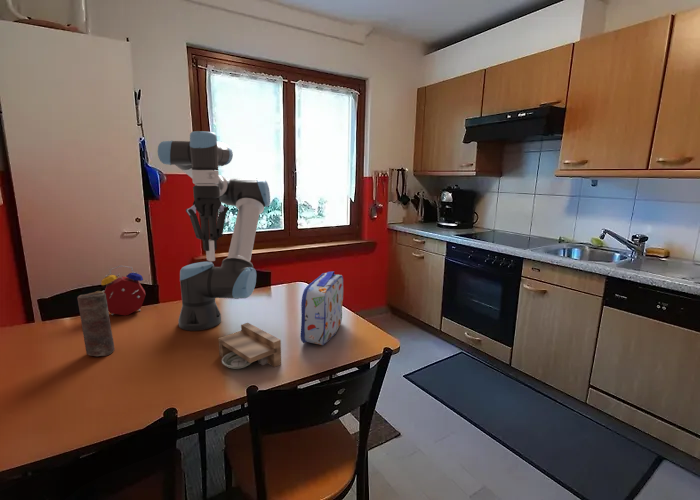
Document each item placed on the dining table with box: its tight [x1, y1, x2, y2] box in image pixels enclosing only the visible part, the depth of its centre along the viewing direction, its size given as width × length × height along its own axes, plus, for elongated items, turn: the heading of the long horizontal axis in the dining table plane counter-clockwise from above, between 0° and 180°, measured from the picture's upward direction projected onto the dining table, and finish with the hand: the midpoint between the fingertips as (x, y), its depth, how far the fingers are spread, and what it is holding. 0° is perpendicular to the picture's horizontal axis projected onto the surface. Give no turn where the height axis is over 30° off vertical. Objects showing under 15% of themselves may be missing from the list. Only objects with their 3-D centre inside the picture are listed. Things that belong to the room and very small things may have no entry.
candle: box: [77, 290, 115, 357], centre depth 114 cm, size 8×7×20 cm
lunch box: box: [299, 271, 344, 346], centre depth 131 cm, size 28×10×22 cm, turn 168°
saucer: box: [221, 352, 252, 370], centre depth 111 cm, size 10×10×2 cm
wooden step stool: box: [218, 322, 282, 368], centre depth 113 cm, size 18×10×8 cm, turn 47°
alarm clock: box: [100, 265, 146, 317], centre depth 146 cm, size 15×9×20 cm, turn 121°
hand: (210, 260), depth 116 cm, fingers closed
